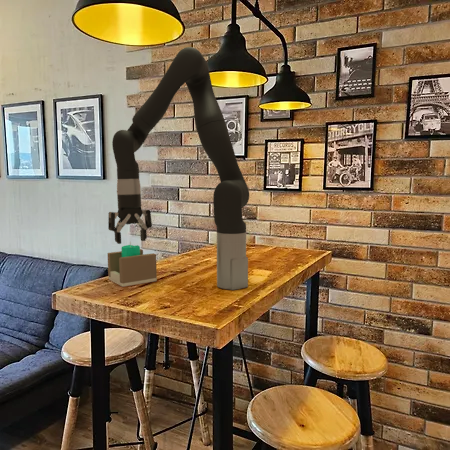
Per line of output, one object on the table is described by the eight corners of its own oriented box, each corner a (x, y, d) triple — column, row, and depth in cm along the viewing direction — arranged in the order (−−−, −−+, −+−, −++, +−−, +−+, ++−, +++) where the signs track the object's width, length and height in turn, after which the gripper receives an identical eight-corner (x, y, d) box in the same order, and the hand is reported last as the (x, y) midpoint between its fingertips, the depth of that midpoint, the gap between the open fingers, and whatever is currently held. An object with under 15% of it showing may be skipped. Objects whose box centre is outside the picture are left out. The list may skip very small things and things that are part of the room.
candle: (136, 279, 135) (135, 243, 133) (119, 278, 136) (118, 242, 135) (143, 275, 141) (142, 240, 139) (127, 274, 142) (126, 240, 140)
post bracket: (156, 280, 137) (156, 254, 136) (122, 286, 130) (121, 258, 129) (141, 274, 147) (140, 249, 146) (108, 279, 140) (107, 252, 139)
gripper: (112, 194, 128) (115, 245, 129) (154, 192, 136) (156, 241, 138) (103, 193, 134) (106, 243, 135) (143, 192, 142) (145, 238, 144)
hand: (131, 242), depth 137 cm, fingers open, 8 cm apart
